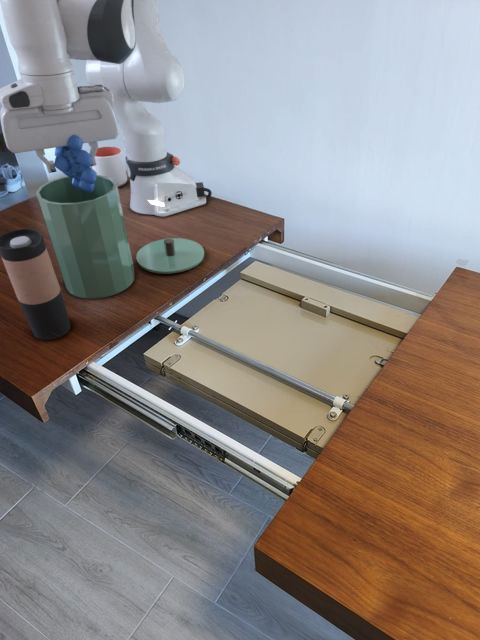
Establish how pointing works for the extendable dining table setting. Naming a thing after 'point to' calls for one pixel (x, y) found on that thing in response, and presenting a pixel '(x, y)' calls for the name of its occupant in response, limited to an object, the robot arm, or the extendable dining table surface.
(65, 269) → the pot
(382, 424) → the extendable dining table surface
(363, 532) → the extendable dining table surface
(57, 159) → the grapes
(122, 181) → the cup
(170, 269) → the lid
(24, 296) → the travel mug
